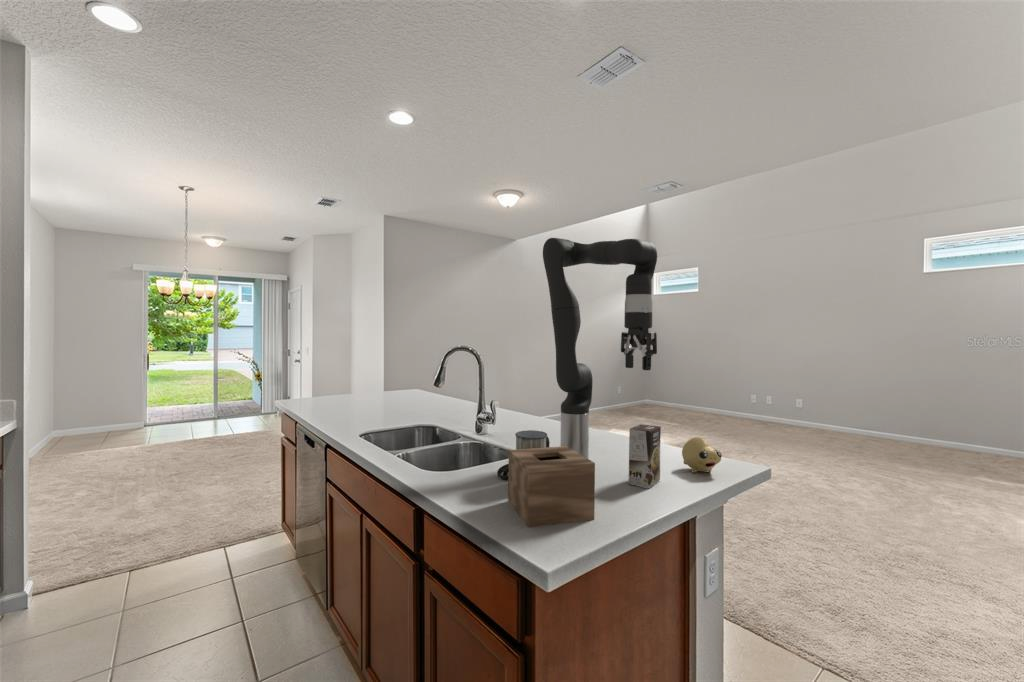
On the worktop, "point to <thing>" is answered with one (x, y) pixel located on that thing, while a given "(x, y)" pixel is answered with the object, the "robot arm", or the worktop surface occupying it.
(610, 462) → the worktop surface
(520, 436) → the milk frother
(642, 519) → the worktop surface
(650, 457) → the coffee box
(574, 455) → the coin box
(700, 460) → the yellow creature figurine
